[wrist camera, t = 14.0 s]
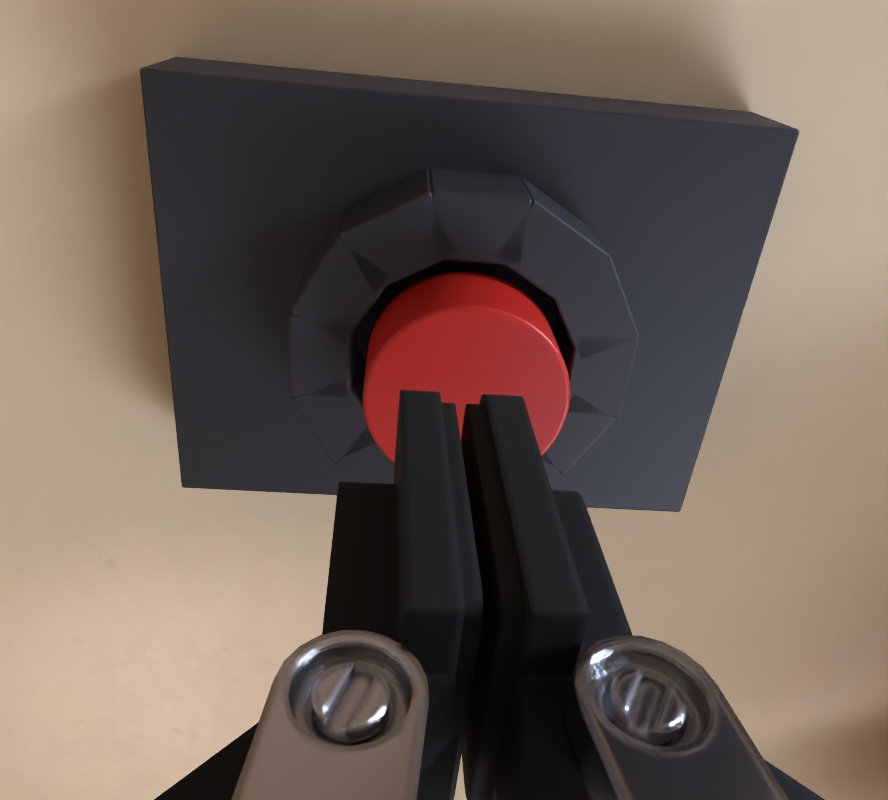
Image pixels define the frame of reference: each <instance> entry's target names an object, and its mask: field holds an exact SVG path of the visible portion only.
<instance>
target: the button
mask: <svg viewBox="0 0 888 800" xmlns="http://www.w3.org/2000/svg"><path fill="white" fill-rule="evenodd" d="M400 390H415V391H435V392H440V395H441V402H446V403H455V405H456V412H457V419H458V425H459V432H460V439H461V435H462V427H463V419H464V412H465V407H466V404H479V402H480V398H481V396H482V394H492V395H512V396H523V399H524V401H525V404H526V407H527V411H528V414H529V417H530V420H531V424H532V427H533V430H534V433H535V437H536V440H537V443H538V446H539V450H540V453H541V456H542V455H543V454H544V453H545V452H546V451H547V450H548V448H549V447H550V446H551V445H552V443H553V442H554V441H555V439H556V437H557V436H558V434H559V433H560V431H561V428H562V426H563V424H564V422H565V419H566V416H567V412H568V409H569V402H570V381H569V376H568V371H567V368H566V365H565V362H564V360H563V357H562V355H561V352H560V350H559V347H558V345H557V342H556V340H555V338H554V335H553V333H552V330H551V328H550V325H549V323H548V321H547V319H546V317H545V315H544V313H543V312H542V310H541V309H540V308H539V306H538V305H537V304H536V303H535V301H534V300H533V299H532V298H531V297H530V296H529V295H528V294H526V293H525V292H524V291H523V290H521V289H520V288H519V287H517V286H515V285H513V284H512V283H510V282H508V281H506V280H504V279H501V278H499V277H496V276H492V275H489V274H485V273H478V272H466V271H458V272H449V273H443V274H439V275H435V276H432V277H429V278H426V279H424V280H421V281H419V282H417V283H415V284H413V285H412V286H410V287H408V288H407V289H405V290H404V291H403V292H401V293H400V294H399V295H397V296H396V297H395V298H394V299H393V300H392V301H391V302H390V303H389V304H388V306H387V307H386V308H385V309H384V310H383V312H382V313H381V315H380V317H379V318H378V320H377V321H376V323H375V326H374V328H373V330H372V333H371V336H370V340H369V344H368V352H367V361H366V370H365V379H364V388H363V410H364V415H365V420H366V423H367V426H368V428H369V431H370V433H371V435H372V437H373V439H374V440H375V442H376V443H377V445H378V446H379V447H380V449H381V450H382V451H383V452H384V453H385V455H386V456H387V457H388V458H389V459H390V460H391V461H393V462H395V448H396V434H397V421H398V407H399V395H400Z"/></svg>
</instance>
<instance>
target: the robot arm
mask: <svg viewBox="0 0 888 800" xmlns="http://www.w3.org/2000/svg"><path fill="white" fill-rule="evenodd" d="M461 753H462V762H463V773H464V785H465V793H466V798H467V800H824V799H823V798H821V797H820V796H818V795H817V794H815V793H814V792H812V791H811V790H809V789H808V788H806V787H805V786H803V785H802V784H800V783H799V782H797V781H796V780H794V779H793V778H791V777H790V776H788V775H787V774H785V773H784V772H782V771H781V770H779V769H778V768H776V767H775V766H773V765H772V764H770V763H769V762H767V761H766V760H764V759H763V757H762V756H761V754H760V753H759V751H758V749H757V748H756V746H755V745H754V743H753V741H752V740H751V738H750V737H749V735H748V733H747V732H746V730H745V729H744V727H743V725H742V724H741V722H740V721H739V719H738V717H737V716H736V714H735V713H734V711H733V709H732V708H731V706H730V705H729V703H728V701H727V700H726V698H725V697H724V695H723V693H722V692H721V690H720V689H719V687H718V685H717V684H716V683H715V682H714V680H713V679H712V678H711V677H710V676H709V674H708V673H707V672H706V671H705V669H704V668H703V667H702V666H701V665H699V664H698V663H697V662H695V661H694V660H693V659H692V658H690V657H689V656H688V655H687V654H685V653H684V652H682V651H680V650H678V649H676V648H674V647H672V646H670V645H668V644H666V643H664V642H662V641H658V640H654V639H650V638H646V637H643V636H633V635H632V633H631V630H630V627H629V624H628V621H627V619H626V616H625V613H624V610H623V608H622V605H621V602H620V599H619V597H618V594H617V591H616V588H615V586H614V583H613V580H612V577H611V575H610V572H609V569H608V566H607V563H606V561H605V558H604V555H603V552H602V550H601V547H600V544H599V541H598V539H597V536H596V533H595V530H594V528H593V525H592V522H591V519H590V516H589V514H588V511H587V508H586V505H585V503H584V500H583V498H582V496H581V494H580V493H578V492H577V491H563V490H552V489H551V486H550V482H549V479H548V476H547V473H546V469H545V466H544V463H543V460H542V456H541V453H540V450H539V446H538V443H537V440H536V437H535V433H534V430H533V427H532V424H531V420H530V417H529V414H528V411H527V407H526V404H525V401H524V399H523V396H512V395H492V394H482V396H481V398H480V402H479V404H466V407H465V412H464V419H463V427H462V435H461V439H460V432H459V425H458V419H457V412H456V405H455V403H446V402H441V395H440V392H435V391H415V390H400V395H399V407H398V421H397V434H396V448H395V462H394V476H393V484H385V483H360V482H339V485H338V493H337V502H336V511H335V521H334V530H333V539H332V549H331V558H330V567H329V576H328V586H327V595H326V604H325V614H324V623H323V632H322V635H320V636H318V637H316V638H314V639H312V640H310V641H308V642H307V643H305V644H303V645H301V646H300V647H299V648H297V649H296V650H295V651H294V652H293V653H292V654H291V655H290V656H289V657H288V658H287V659H286V660H285V661H284V662H283V664H282V666H281V668H280V669H279V671H278V673H277V675H276V677H275V678H274V681H273V684H272V686H271V689H270V692H269V695H268V698H267V700H266V703H265V706H264V709H263V712H262V715H261V717H260V720H259V722H258V723H257V724H256V725H254V726H253V727H252V728H250V729H249V730H248V731H246V732H245V733H244V734H242V735H241V736H239V737H238V738H237V739H235V740H234V741H233V742H231V743H230V744H229V745H227V746H226V747H225V748H223V749H222V750H221V751H219V752H218V753H216V754H215V755H214V756H212V757H211V758H210V759H208V760H207V761H206V762H204V763H203V764H202V765H200V766H199V767H198V768H196V769H195V770H194V771H192V772H191V773H189V774H188V775H187V776H185V777H184V778H183V779H181V780H180V781H179V782H177V783H176V784H175V785H173V786H172V787H171V788H169V789H168V790H167V791H165V792H164V793H162V794H161V795H160V796H158V797H157V798H156V799H154V800H453V799H454V795H455V789H456V783H457V777H458V771H459V765H460V759H461Z"/></svg>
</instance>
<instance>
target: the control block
mask: <svg viewBox="0 0 888 800" xmlns="http://www.w3.org/2000/svg"><path fill="white" fill-rule="evenodd" d="M140 75H141V85H142V95H143V105H144V115H145V124H146V134H147V144H148V154H149V164H150V174H151V184H152V194H153V204H154V214H155V224H156V233H157V243H158V253H159V263H160V273H161V283H162V293H163V303H164V313H165V323H166V333H167V343H168V352H169V362H170V372H171V382H172V392H173V402H174V412H175V422H176V432H177V442H178V452H179V462H180V471H181V481H182V487H184V488H205V489H225V490H245V491H266V492H286V493H306V494H327V495H337V493H338V485H339V482H360V483H385V484H393V476H394V462H393V461H391V460H390V459H389V458H388V457H387V456H386V455H385V453H384V452H383V451H382V450H381V449H380V447H379V446H378V445H377V443H376V442H375V440H374V439H373V437H372V435H371V433H370V431H369V428H368V426H367V423H366V420H365V415H364V410H363V388H364V379H365V370H366V361H367V352H368V344H369V340H370V336H371V333H372V330H373V328H374V326H375V323H376V321H377V320H378V318H379V317H380V315H381V313H382V312H383V310H384V309H385V308H386V307H387V306H388V304H389V303H390V302H391V301H392V300H393V299H394V298H395V297H396V296H397V295H399V294H400V293H401V292H403V291H404V290H405V289H407V288H408V287H410V286H412V285H413V284H415V283H417V282H419V281H421V280H424V279H426V278H429V277H432V276H435V275H439V274H443V273H449V272H458V271H466V272H478V273H485V274H489V275H492V276H496V277H499V278H501V279H504V280H506V281H508V282H510V283H512V284H513V285H515V286H517V287H519V288H520V289H521V290H523V291H524V292H525V293H526V294H528V295H529V296H530V297H531V298H532V299H533V300H534V301H535V303H536V304H537V305H538V306H539V308H540V309H541V310H542V312H543V313H544V315H545V317H546V319H547V321H548V323H549V325H550V328H551V330H552V333H553V335H554V338H555V340H556V342H557V345H558V347H559V350H560V352H561V355H562V357H563V360H564V362H565V365H566V368H567V371H568V376H569V381H570V402H569V409H568V412H567V416H566V419H565V422H564V424H563V426H562V428H561V431H560V433H559V434H558V436H557V437H556V439H555V441H554V442H553V443H552V445H551V446H550V447H549V448H548V450H547V451H546V452H545V453H544V454H543V455H542V460H543V463H544V466H545V469H546V473H547V476H548V479H549V482H550V486H551V489H552V490H563V491H577V492H578V493H580V494H581V496H582V498H583V500H584V503H585V505H586V507H591V508H611V509H632V510H652V511H672V512H679V511H680V510H681V507H682V504H683V500H684V497H685V494H686V491H687V488H688V484H689V481H690V478H691V475H692V472H693V469H694V465H695V462H696V459H697V456H698V453H699V449H700V446H701V443H702V440H703V437H704V434H705V430H706V427H707V424H708V421H709V418H710V414H711V411H712V408H713V405H714V402H715V398H716V395H717V392H718V389H719V386H720V383H721V379H722V376H723V373H724V370H725V367H726V363H727V360H728V357H729V354H730V351H731V348H732V344H733V341H734V338H735V335H736V332H737V328H738V325H739V322H740V319H741V316H742V313H743V309H744V306H745V303H746V300H747V297H748V293H749V290H750V287H751V284H752V281H753V277H754V274H755V271H756V268H757V265H758V262H759V258H760V255H761V252H762V249H763V246H764V242H765V239H766V236H767V233H768V230H769V227H770V223H771V220H772V217H773V214H774V211H775V207H776V204H777V201H778V198H779V195H780V191H781V188H782V185H783V182H784V179H785V176H786V172H787V169H788V166H789V163H790V160H791V156H792V153H793V150H794V147H795V144H796V141H797V137H798V134H799V130H797V129H795V128H792V127H790V126H787V125H784V124H782V123H779V122H776V121H774V120H771V119H769V118H766V117H763V116H761V115H758V114H755V113H753V112H745V111H735V110H724V109H714V108H703V107H693V106H683V105H672V104H662V103H651V102H641V101H630V100H620V99H609V98H599V97H588V96H578V95H568V94H557V93H547V92H536V91H526V90H515V89H505V88H494V87H484V86H474V85H463V84H453V83H442V82H432V81H421V80H411V79H400V78H390V77H379V76H369V75H359V74H348V73H338V72H327V71H317V70H306V69H296V68H285V67H275V66H265V65H254V64H244V63H233V62H223V61H212V60H202V59H191V58H181V57H175V58H171V59H168V60H165V61H162V62H159V63H156V64H153V65H150V66H147V67H143V68H141V69H140Z"/></svg>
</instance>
